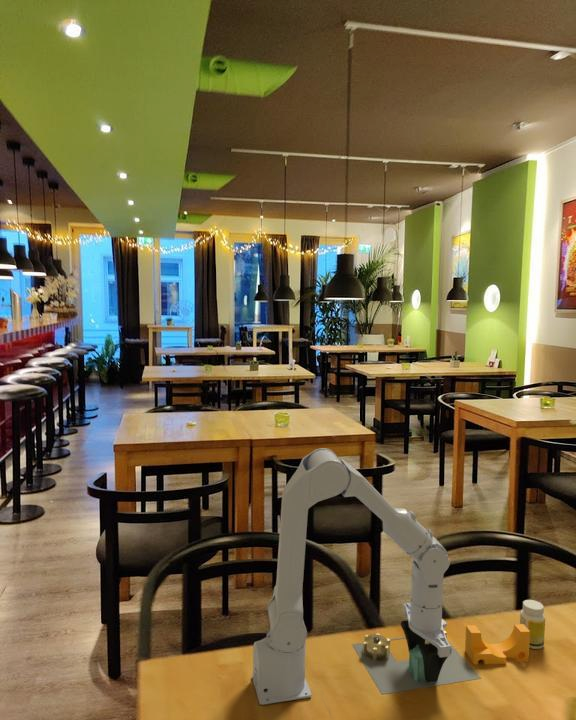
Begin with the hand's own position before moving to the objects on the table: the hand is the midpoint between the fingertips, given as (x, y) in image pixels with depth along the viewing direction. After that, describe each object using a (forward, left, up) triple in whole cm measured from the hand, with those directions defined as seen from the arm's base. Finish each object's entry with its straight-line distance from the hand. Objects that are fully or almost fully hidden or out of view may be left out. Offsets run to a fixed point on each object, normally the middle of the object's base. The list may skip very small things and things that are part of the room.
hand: (423, 670), depth 101 cm
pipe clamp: (+17, +2, -2) cm, 17 cm away
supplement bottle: (+28, +6, -2) cm, 29 cm away
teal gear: (0, 0, -1) cm, 1 cm away
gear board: (0, +4, -2) cm, 4 cm away
